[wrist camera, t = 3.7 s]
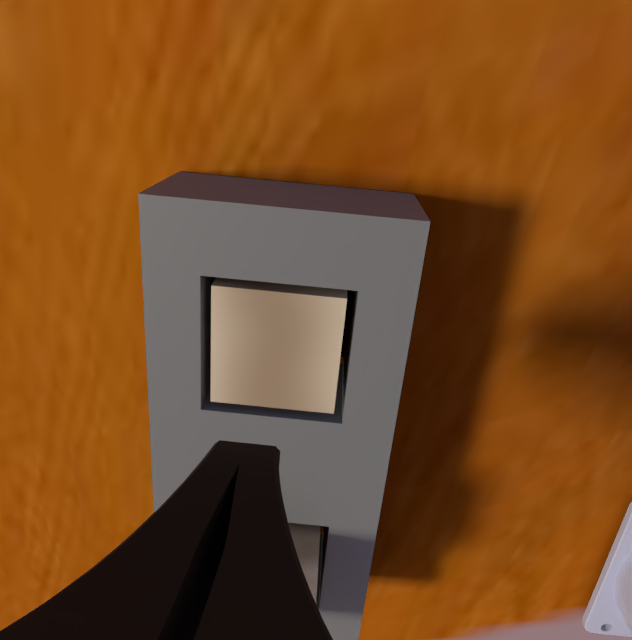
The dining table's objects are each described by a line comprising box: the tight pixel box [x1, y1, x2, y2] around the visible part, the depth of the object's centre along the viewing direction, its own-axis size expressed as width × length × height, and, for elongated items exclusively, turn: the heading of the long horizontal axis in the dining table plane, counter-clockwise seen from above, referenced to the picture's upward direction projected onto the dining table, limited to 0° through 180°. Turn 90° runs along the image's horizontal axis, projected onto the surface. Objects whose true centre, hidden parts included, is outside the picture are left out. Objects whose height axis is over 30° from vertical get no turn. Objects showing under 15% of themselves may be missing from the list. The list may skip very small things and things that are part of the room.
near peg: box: [210, 277, 347, 414], centre depth 18 cm, size 4×4×4 cm
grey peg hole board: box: [138, 172, 431, 640], centre depth 20 cm, size 8×18×4 cm, turn 175°
